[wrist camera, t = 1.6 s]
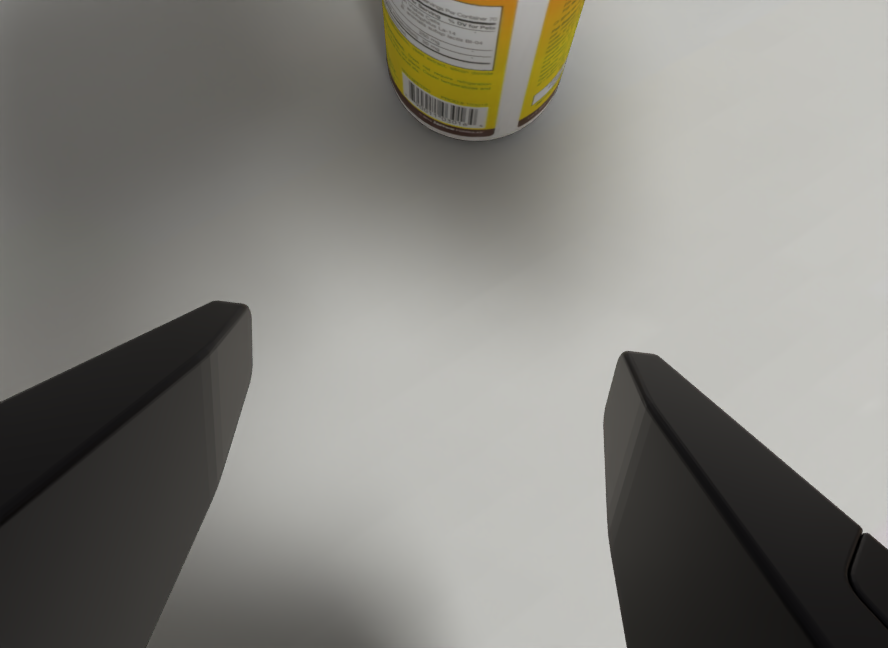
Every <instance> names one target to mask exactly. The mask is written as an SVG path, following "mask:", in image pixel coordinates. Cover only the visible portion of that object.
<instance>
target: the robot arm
mask: <svg viewBox="0 0 888 648" xmlns="http://www.w3.org/2000/svg"><path fill="white" fill-rule="evenodd" d="M252 366H253V358H252V319H251V312H250V309H249V307H248V306H247V305H245V304H241V303H233V302H225V301H212V302H210V303H208V304H206V305H204V306H201V307H199V308H197V309H195V310H193V311H191V312H189V313H187V314H185V315H183V316H180V317H178V318H176V319H174V320H172V321H170V322H168V323H166V324H164V325H162V326H159V327H157V328H155V329H153V330H151V331H149V332H147V333H145V334H143V335H141V336H138V337H136V338H134V339H132V340H130V341H128V342H126V343H124V344H122V345H120V346H117V347H115V348H113V349H111V350H109V351H107V352H105V353H103V354H101V355H99V356H96V357H94V358H92V359H90V360H88V361H86V362H84V363H82V364H80V365H77V366H75V367H73V368H71V369H69V370H67V371H65V372H63V373H61V374H59V375H56V376H54V377H52V378H50V379H48V380H46V381H44V382H42V383H40V384H37V385H35V386H33V387H31V388H29V389H27V390H25V391H23V392H21V393H19V394H16V395H14V396H12V397H10V398H8V399H6V400H4V401H2V402H0V648H146V646H147V644H148V641H149V639H150V637H151V635H152V632H153V630H154V628H155V626H156V624H157V621H158V619H159V617H160V615H161V613H162V610H163V608H164V606H165V604H166V602H167V599H168V597H169V595H170V593H171V590H172V588H173V586H174V584H175V582H176V579H177V577H178V575H179V573H180V571H181V568H182V566H183V564H184V562H185V560H186V557H187V555H188V553H189V551H190V549H191V546H192V544H193V542H194V540H195V537H196V535H197V533H198V531H199V529H200V526H201V524H202V522H203V520H204V518H205V515H206V513H207V511H208V509H209V507H210V504H211V502H212V500H213V497H214V495H215V492H216V490H217V487H218V485H219V482H220V478H221V475H222V472H223V469H224V466H225V463H226V460H227V456H228V453H229V450H230V446H231V443H232V440H233V437H234V433H235V430H236V427H237V424H238V420H239V417H240V414H241V410H242V407H243V404H244V401H245V397H246V394H247V391H248V388H249V384H250V380H251V375H252ZM603 430H604V455H605V479H606V504H607V524H608V537H609V544H610V552H611V558H612V564H613V570H614V575H615V581H616V587H617V593H618V599H619V605H620V610H621V616H622V622H623V628H624V634H625V640H626V645H627V648H888V549H887V548H885V547H884V546H883V545H882V544H881V543H880V542H878V541H877V540H876V539H875V538H874V537H872V536H871V535H870V534H869V533H863V534H862V532H863V530H862V528H861V527H860V526H859V525H858V524H857V523H856V522H854V521H853V520H852V519H851V518H850V517H849V516H847V515H846V514H845V513H844V512H843V511H841V510H840V509H839V508H838V507H837V506H835V505H834V504H833V503H832V502H831V501H830V500H828V499H827V498H826V497H825V496H824V495H822V494H821V493H820V492H819V491H818V490H817V489H815V488H814V487H813V486H812V485H811V484H809V483H808V482H807V481H806V480H805V479H804V478H802V477H801V476H800V475H799V474H798V473H796V472H795V471H794V470H793V469H792V468H791V467H789V466H788V465H787V464H786V463H785V462H783V461H782V460H781V459H780V458H779V457H778V456H776V455H775V454H774V453H773V452H772V451H770V450H769V449H768V448H767V447H766V446H765V445H763V444H762V443H761V442H760V441H759V440H757V439H756V438H755V437H754V436H753V435H751V434H750V433H749V432H748V431H747V430H746V429H744V428H743V427H742V426H741V425H740V424H738V423H737V422H736V421H735V420H734V419H733V418H731V417H730V416H729V415H728V414H727V413H725V412H724V411H723V410H722V409H721V408H720V407H718V406H717V405H716V404H715V403H714V402H712V401H711V400H710V399H709V398H708V397H707V396H705V395H704V394H703V393H702V392H701V391H699V390H698V389H697V388H696V387H695V386H694V385H692V384H691V383H690V382H689V381H688V380H686V379H685V378H684V377H683V376H682V375H681V374H679V373H678V372H677V371H676V370H675V369H673V368H672V367H671V366H670V365H669V364H667V363H666V362H665V361H664V360H663V359H662V358H660V357H659V356H658V355H655V354H650V353H641V352H633V351H625V352H623V353H622V354H621V355H620V357H619V359H618V362H617V365H616V369H615V372H614V376H613V380H612V384H611V388H610V391H609V395H608V399H607V403H606V407H605V412H604V422H603Z"/></svg>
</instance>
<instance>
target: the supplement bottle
mask: <svg viewBox="0 0 888 648" xmlns="http://www.w3.org/2000/svg"><path fill="white" fill-rule="evenodd" d="M584 1H585V0H382V6H383V16H384V28H385V41H386V53H387V64H388V70H389V75H390V79H391V82H392V85H393V87H394V90H395V92H396V94H397V96H398V97H399V99H400V101H401V102H402V104H403V105H404V106H405V108H406V109H407V110H408V111H409V112H410V113H411V114H412V115H413V116H414V117H415V118H416V119H417V120H418V121H419V122H421V123H422V124H423V125H425V126H427V127H428V128H430V129H431V130H433V131H435V132H437V133H440V134H442V135H445V136H448V137H452V138H456V139H461V140H469V141H484V140H492V139H497V138H501V137H504V136H507V135H510V134H512V133H514V132H517V131H518V130H520V129H522V128H524V127H525V126H527V125H528V124H530V123H531V122H532V121H533V120H535V119H536V118H537V117H538V116H539V115H540V114H541V113H542V112H543V111H544V109H545V108H546V107H547V105H548V104H549V103H550V101H551V100H552V98H553V96H554V94H555V92H556V90H557V88H558V85H559V82H560V79H561V76H562V73H563V70H564V66H565V64H566V60H567V57H568V53H569V50H570V47H571V43H572V40H573V37H574V34H575V30H576V27H577V24H578V21H579V18H580V14H581V11H582V8H583V5H584Z"/></svg>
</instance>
